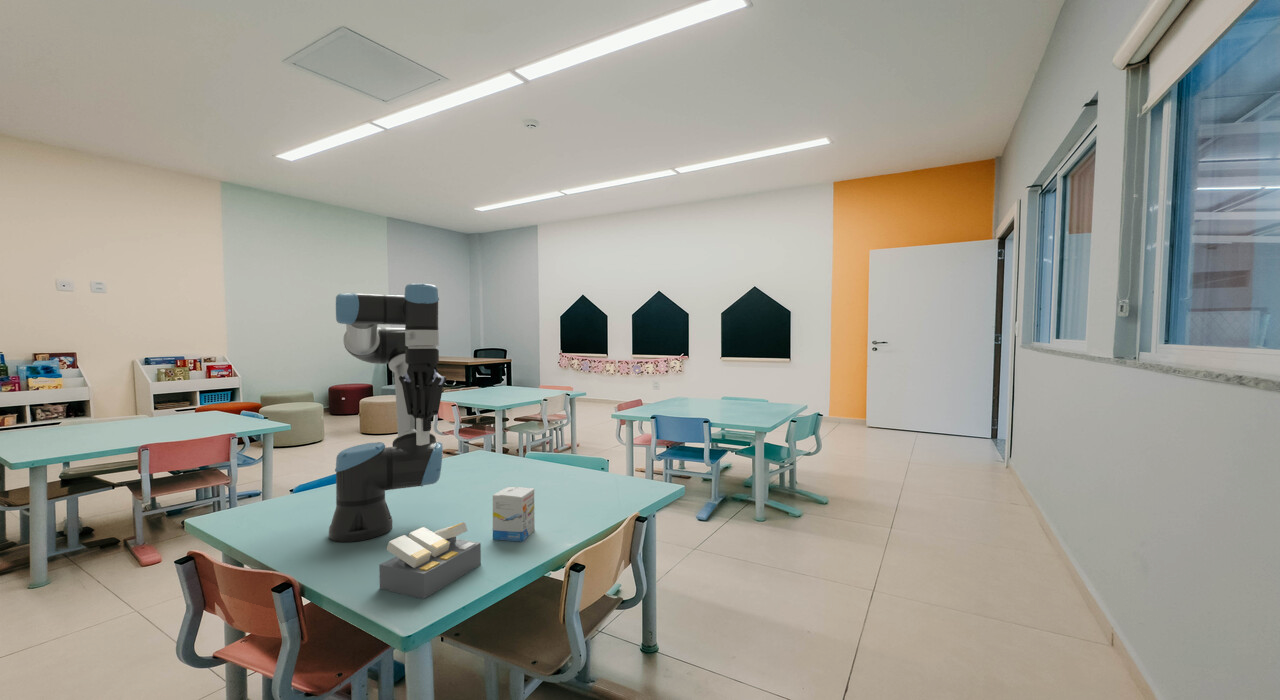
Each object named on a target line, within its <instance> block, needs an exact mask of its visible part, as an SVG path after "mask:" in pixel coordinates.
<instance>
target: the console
mask: <svg viewBox="0 0 1280 700" xmlns="http://www.w3.org/2000/svg"><path fill="white" fill-rule="evenodd" d="M445 540H447V541H449V542H450V545H449V549H448V551H446V552H444V553H442V554H440V555H438V556H436V557H433V556H432V555H431V556H430V559H429V561H427V562H425V563H423V564H421V565H419V566H418V567H416V568H413V567H412V566H410V565H409V564H407V563H406V562H404V561H403V560H401V559H400V558H398V557H397V556H395V557H392V558H390V559H388V560H386V561H384V562H382V563H380V564H378V565H379V589H381V590H385V591H389V592H393V593H397V594H401V595H405V596H411V597H414V598H418V599H422V600H423V599H424V600H425V599H426V598H429V596H431V595H434V594H435V593H436V592H438V591H439V590H442V588H443V589H444V587H446V586H448V585H450V584H451V583H453V582H455V581H456V580H457V579H459V578H462V577H463V576H465V575H466V574H467V573H469V572H471V571H473V570H475V568H477V567H479V566H481V564H482V556H481V553H482V551H481V549H482V547H481V546H482V543H481V542H477V541H472V540H465V539H461V538H457V536H456V537H452V538H448V539H445Z"/></svg>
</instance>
